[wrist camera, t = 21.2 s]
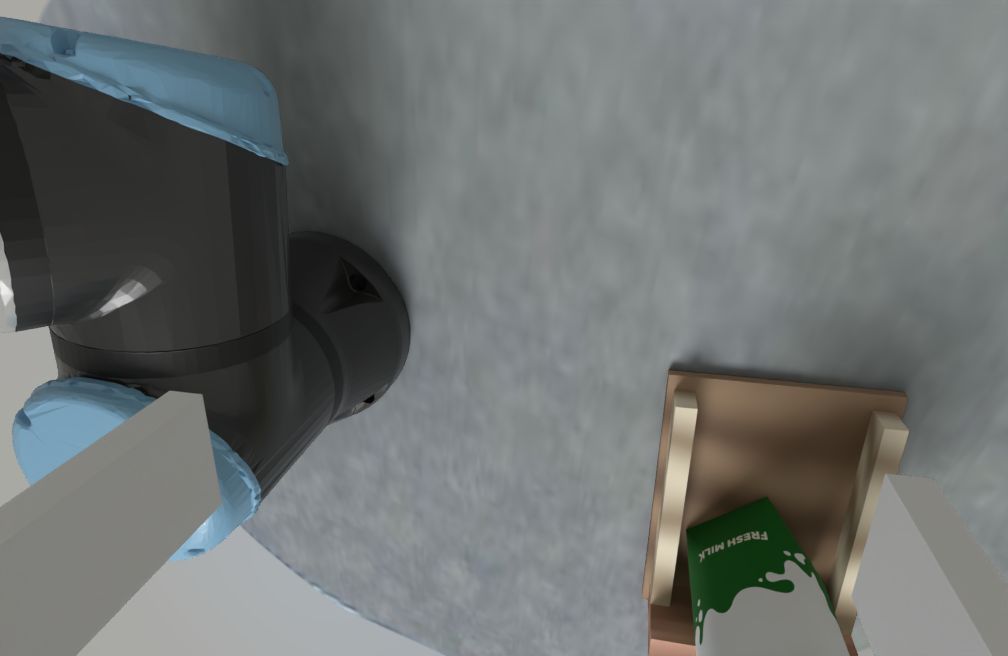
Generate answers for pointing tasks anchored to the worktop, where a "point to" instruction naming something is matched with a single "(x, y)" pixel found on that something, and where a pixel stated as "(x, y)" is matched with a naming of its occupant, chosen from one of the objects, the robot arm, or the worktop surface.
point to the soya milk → (757, 589)
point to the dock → (767, 481)
